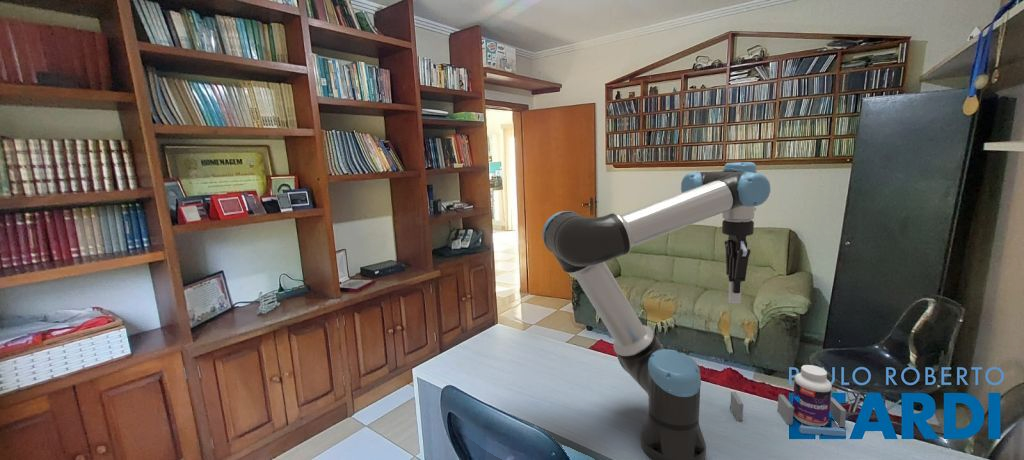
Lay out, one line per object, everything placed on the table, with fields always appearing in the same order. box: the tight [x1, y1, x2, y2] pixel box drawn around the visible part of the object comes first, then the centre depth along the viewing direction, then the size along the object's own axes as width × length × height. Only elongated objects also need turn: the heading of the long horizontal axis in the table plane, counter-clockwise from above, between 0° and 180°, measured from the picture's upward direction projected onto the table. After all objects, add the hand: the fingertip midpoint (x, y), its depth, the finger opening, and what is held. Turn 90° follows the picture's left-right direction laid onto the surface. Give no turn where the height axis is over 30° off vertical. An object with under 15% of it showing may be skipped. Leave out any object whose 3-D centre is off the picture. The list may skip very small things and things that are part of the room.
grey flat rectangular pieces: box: [730, 391, 847, 437], centre depth 109 cm, size 10×26×5 cm, turn 79°
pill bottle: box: [792, 364, 833, 427], centre depth 109 cm, size 8×8×14 cm
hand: (734, 302), depth 115 cm, fingers closed
